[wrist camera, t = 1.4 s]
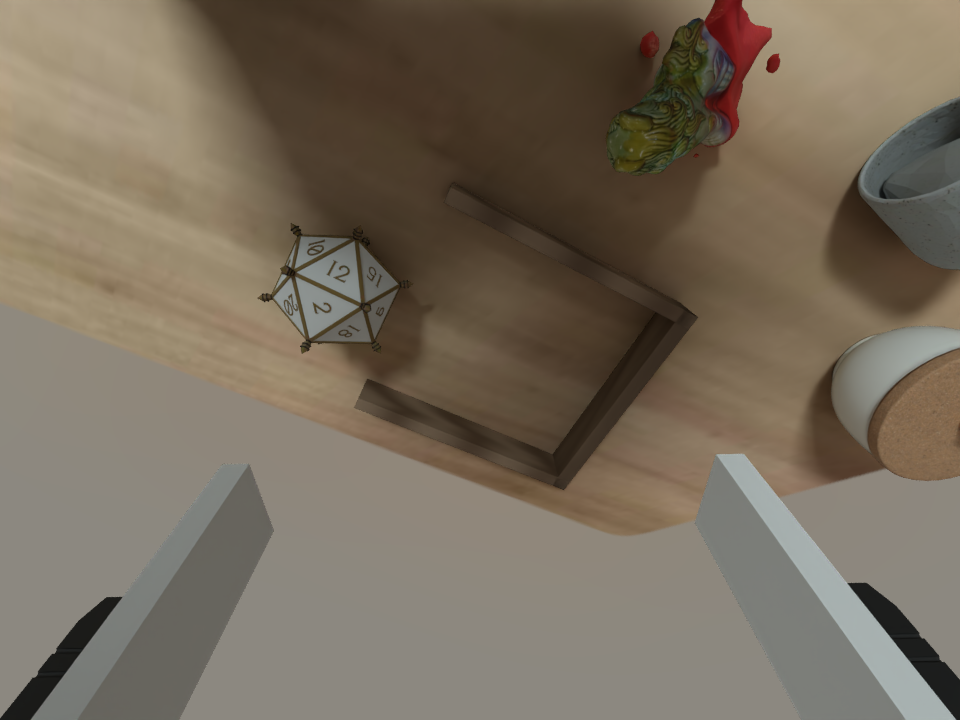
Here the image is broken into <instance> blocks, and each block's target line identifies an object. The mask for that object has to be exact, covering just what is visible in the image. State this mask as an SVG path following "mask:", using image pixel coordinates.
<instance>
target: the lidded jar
mask: <svg viewBox="0 0 960 720" xmlns="http://www.w3.org/2000/svg"><path fill="white" fill-rule="evenodd" d="M831 399H832V404H833V408H834V410H835V413H836V415H837V417H838V419H839V421H840V422H841V424H842V425H843V426H844V428H845V429H846V430H847V431H848V432H849V433H850V435H851V436H852V437H853V438H854V439H855V440H856V441H857V442H858V443H859V444H860V445H861V446H862V447H863V448H865V449H866V450H867V451H868V452H869V453H870V454H872V455H873V456H874V458H875V459H876V460H877V461H878V462H879V463H880V464H881V465H883V466H884V467H885V468H886V469H888V470H889V471H891V472H892V473H894V474H896V475H898V476H901V477H903V478H908V479H912V480H924V481H931V480H942V479H948V478H953V477H957V476H960V330H959V329H954V328H947V327H939V326H911V327H904V328H899V329H894V330H891V331H887V332H884V333H881V334H876V335H872V336H869V337H867V338H865V339H862V340H861V341H859V342H857V343H855V344H854V345H853V346H851V347H850V348H849V349H848V350H847V351H845V353H844V354H843V355H842V356H841V357H840V359H839V360H838V361H837V363H836V365H835V367H834V370H833V374H832V387H831Z"/></svg>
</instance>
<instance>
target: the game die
mask: <svg viewBox="0 0 960 720" xmlns="http://www.w3.org/2000/svg"><path fill="white" fill-rule="evenodd" d="M291 231H293V234H295V235H296V236H297V239H296V241H295V243H294V246H293V248H292V250H291V252H290V255H289V257H288V259H287V261H286V263H285V266H284V267H282V268H280V269H281V271H282V272H281V275H280V277H279V279H278V281H277V283H276V286H275V288H274V290H273V292H272V294H271V295H270V294H262V295H261V296H259V297H258V299H260V300H262V301H264V302H265V301H268V302H269V300H274V302H275V303H276V304H277V305H278V306H279V308H280V309H281V310H282V311H283V313H284V314H285V315H286V316H287V317H288V319H289V320H290V321H291V322H292V324H293V325H294V326H295V327H296V328H297V330H298V331H299V332H300V333H301V335H302V336H303V337H304V338H305V339H306V341H305V342H304V343H302V346H300V347H301V352H302V353H304V352H306V351H309V350H310V349H309V348H310V347H311V346H310V345H311V343H318V344H322V343H354V344H372V348H373V349H374V351H376V352H378V353H381V348H380V347H381V346H379V343H376V341H375V340H376V338H377V336H378V334H379V332H380V330H381V327H382V325H383V323H384V321H385V319H386V317H387V315H388V312H389V310H390V308H391V306H392V304H393V302H394V300H395V297H396V295H397V293H398V291H399V289H400V287H404V288H405V287H408V288H409V287H410V286H411V285H413V283H412V282H410V281H408V280H407V281H404V280H403V282H399V281H398V280H397V279H396V278H395V277H394V276H393V275H392V274H391V272H390V271H389V270H388V269H387V268H386V267H385V266H384V265H383V264H382V263H381V262H380V261H379V260H378V259H377V258H376V256H375V255H374V254H373V253H372V252H371V251H370V250H369V249H368V248H367V247H366V246H368V244H370V243H369V240H368V237H367V238H363V239H362V241H361V240H360V239H359V238H360V237H361V234H363V230H362V228H361V225H360V226H359V227H357V228H355V229H354V232H353V234H354V236H353V237H352V236H327V235H303V234H301V229H299V226H296V225H294V224H292V223H291Z"/></svg>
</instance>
